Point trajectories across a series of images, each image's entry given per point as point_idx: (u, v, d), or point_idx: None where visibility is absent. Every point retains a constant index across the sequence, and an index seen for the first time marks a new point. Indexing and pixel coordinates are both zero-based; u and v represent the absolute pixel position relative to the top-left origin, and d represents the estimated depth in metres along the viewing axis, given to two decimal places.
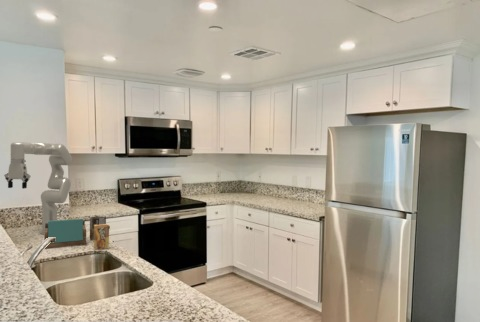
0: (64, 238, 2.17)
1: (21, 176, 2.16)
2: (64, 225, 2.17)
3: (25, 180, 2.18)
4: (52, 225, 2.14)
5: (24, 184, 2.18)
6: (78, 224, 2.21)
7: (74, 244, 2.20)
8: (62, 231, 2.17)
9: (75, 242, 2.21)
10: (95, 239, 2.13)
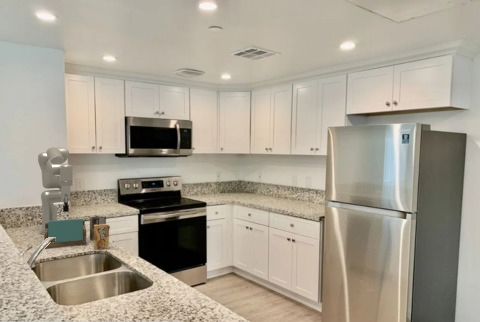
0: (64, 238, 2.17)
1: None
2: (64, 225, 2.17)
3: None
4: (52, 225, 2.14)
5: None
6: (78, 224, 2.21)
7: (74, 244, 2.20)
8: (62, 231, 2.17)
9: (75, 242, 2.21)
10: (95, 239, 2.13)
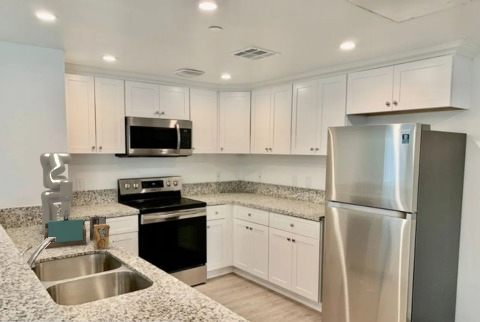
0: (64, 238, 2.17)
1: None
2: (64, 225, 2.16)
3: None
4: (52, 225, 2.13)
5: None
6: (78, 224, 2.20)
7: (74, 244, 2.20)
8: (62, 232, 2.16)
9: (75, 242, 2.21)
10: (95, 239, 2.13)
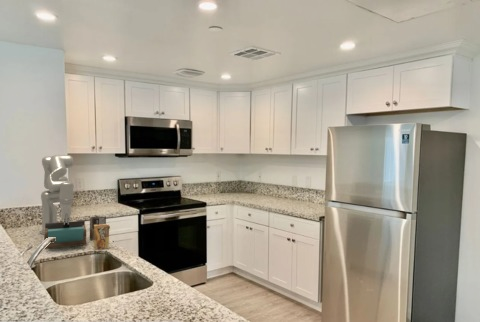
0: (64, 240, 2.16)
1: None
2: (64, 232, 2.11)
3: None
4: (52, 233, 2.07)
5: None
6: (79, 231, 2.14)
7: (74, 244, 2.20)
8: (62, 236, 2.13)
9: (75, 242, 2.21)
10: (95, 239, 2.13)
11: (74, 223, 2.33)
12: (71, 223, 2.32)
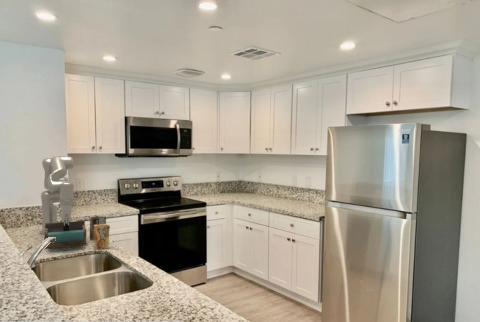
0: (64, 240, 2.16)
1: None
2: (64, 235, 2.10)
3: None
4: (52, 236, 2.06)
5: None
6: (79, 234, 2.13)
7: (74, 244, 2.20)
8: (62, 238, 2.12)
9: (75, 242, 2.21)
10: (95, 239, 2.13)
11: (74, 223, 2.33)
12: (71, 223, 2.32)
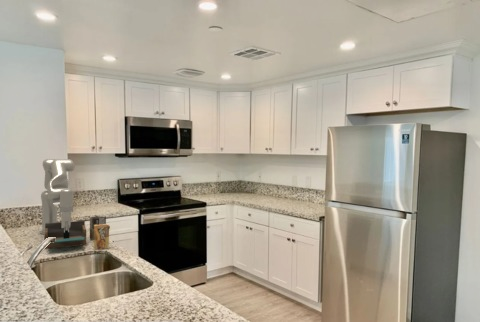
0: None
1: None
2: (64, 241, 2.08)
3: None
4: None
5: None
6: None
7: (74, 244, 2.20)
8: None
9: (75, 242, 2.21)
10: (95, 239, 2.13)
11: (74, 223, 2.33)
12: (71, 223, 2.32)
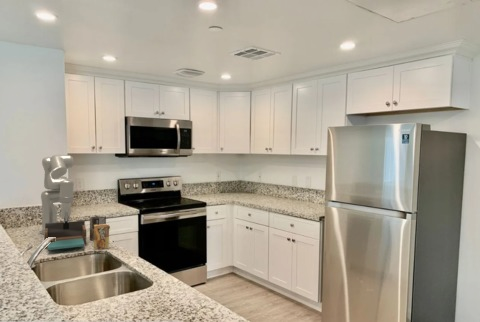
0: None
1: None
2: None
3: None
4: None
5: None
6: None
7: None
8: None
9: None
10: (95, 239, 2.13)
11: (74, 223, 2.33)
12: (71, 223, 2.32)
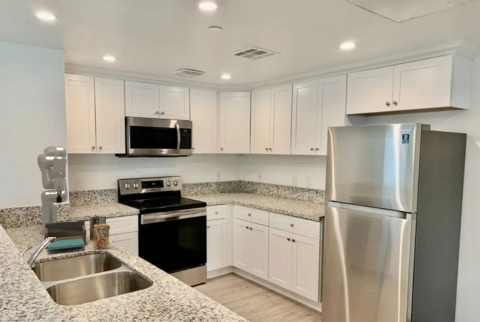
0: None
1: None
2: None
3: None
4: None
5: None
6: None
7: None
8: None
9: None
10: (95, 239, 2.13)
11: (74, 223, 2.33)
12: (71, 223, 2.32)
